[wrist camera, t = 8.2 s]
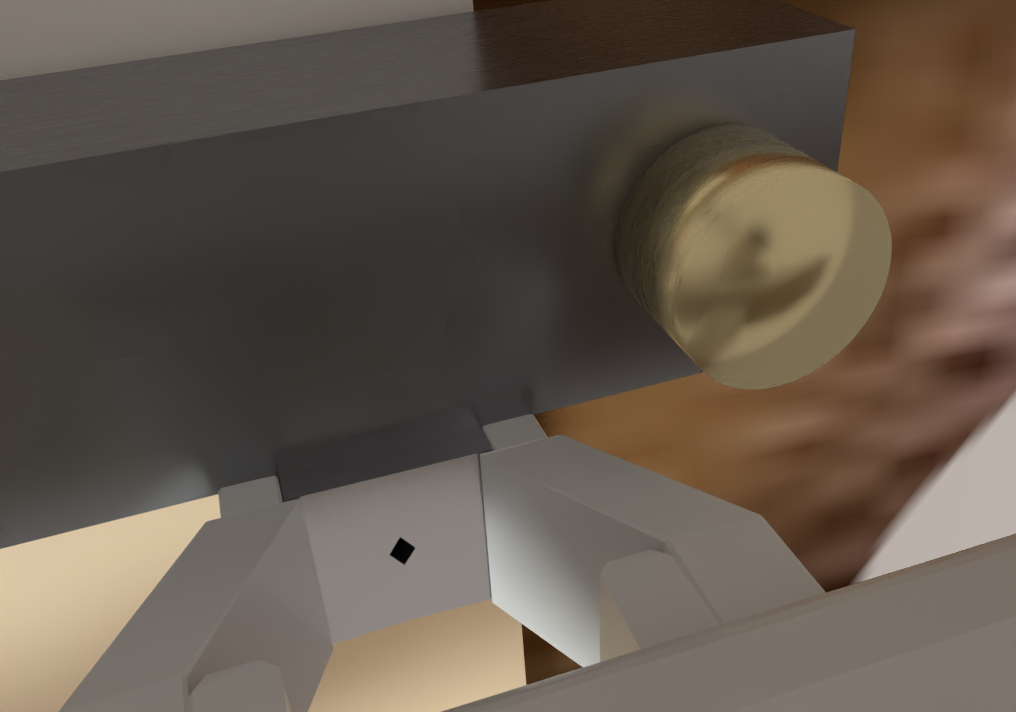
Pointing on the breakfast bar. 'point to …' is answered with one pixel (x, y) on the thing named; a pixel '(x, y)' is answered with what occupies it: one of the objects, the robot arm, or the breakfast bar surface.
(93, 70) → the bar
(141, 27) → the door board
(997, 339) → the breakfast bar surface
